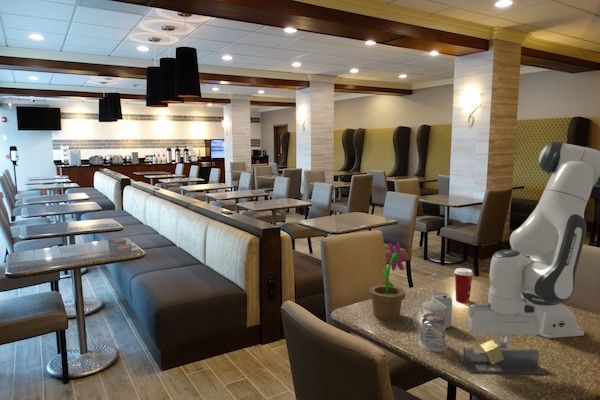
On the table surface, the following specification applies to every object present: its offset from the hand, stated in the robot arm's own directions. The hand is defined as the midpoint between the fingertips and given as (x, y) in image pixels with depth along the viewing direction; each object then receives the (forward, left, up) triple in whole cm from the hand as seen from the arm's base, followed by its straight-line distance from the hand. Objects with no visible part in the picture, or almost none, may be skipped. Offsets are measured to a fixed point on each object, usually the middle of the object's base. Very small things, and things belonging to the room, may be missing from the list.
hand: (501, 347), depth 127 cm
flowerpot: (+29, -38, -6) cm, 48 cm away
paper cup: (-7, -56, -6) cm, 57 cm away
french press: (+18, -13, -6) cm, 23 cm away
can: (+10, -29, -6) cm, 32 cm away
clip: (+2, 0, -4) cm, 4 cm away
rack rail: (0, 0, -6) cm, 6 cm away
